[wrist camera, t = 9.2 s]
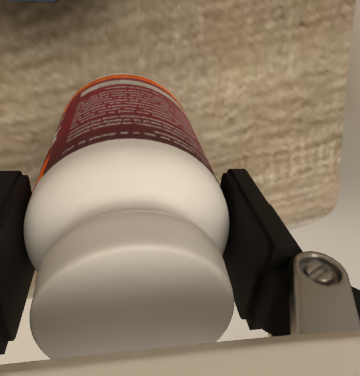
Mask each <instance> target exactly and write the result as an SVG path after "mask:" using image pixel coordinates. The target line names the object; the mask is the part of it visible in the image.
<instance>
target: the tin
mask: <svg viewBox="0 0 360 376" xmlns="http://www.w3.org/2000/svg"><path fill="white" fill-rule="evenodd" d="M3 1H26V2H58V1H61V0H3Z"/></svg>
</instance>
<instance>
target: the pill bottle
mask: <svg viewBox="0 0 360 376" xmlns="http://www.w3.org/2000/svg"><path fill="white" fill-rule="evenodd" d="M229 228H230V223H229V213H228V208H227V204H226V200H225V198H224V195H223V192H222V190H221V187H220V185H219V183H218V180H217V179H216V177H215V175H214V173H213V170H212V168H211V166H210V164H209V162H208V160H207V158H206V156H205V154H204V152H203V150H202V148H201V145H200V143H199V141H198V139H197V137H196V135H195V133H194V131H193V129H192V126H191V124H190V122H189V120H188V118H187V116H186V114H185V112H184V110H183V108H182V107H181V105H180V104H179V102H178V101H177V99H176V98H175V97H174V96H173V94H172V93H171V92H170V91H169V90H168V89H167V88H165V87H164V86H163V85H161V84H160V83H158V82H157V81H155V80H153V79H151V78H149V77H146V76H143V75H139V74H135V73H111V74H106V75H103V76H100V77H97V78H95V79H93V80H91V81H89V82H88V83H86V84H85V85H84V86H82V87H81V88H80V89H79V90H78V91H77V92H76V93H75V94H74V95H73V96H72V98H71V99H70V101H69V102H68V104H67V106H66V108H65V110H64V112H63V114H62V117H61V120H60V122H59V125H58V128H57V130H56V133H55V136H54V138H53V141H52V143H51V146H50V148H49V151H48V154H47V156H46V159H45V161H44V164H43V166H42V168H41V172H40V174H39V177H38V179H37V182H36V185H35V187H34V190H33V192H32V195H31V198H30V200H29V204H28V207H27V210H26V214H25V220H24V240H25V246H26V250H27V253H28V256H29V259H30V261H31V263H32V265H33V266H34V268H35V269H36V271H37V273H38V274H37V278H36V286H35V291H34V295H33V300H32V304H31V309H30V328H31V332H32V335H33V338H34V340H35V342H36V343H37V345H38V346H39V348H40V349H41V350H42V351H43V353H44V354H46V355H47V356H48V357H49V358H51V359H59V358H68V357H77V356H87V355H96V354H106V353H116V352H125V351H135V350H145V349H154V348H164V347H174V346H184V345H193V344H203V343H214V342H216V341H217V340H218V339H219V338H220V337H221V336H222V335H223V333H224V332H225V330H226V329H227V327H228V325H229V323H230V321H231V318H232V315H233V310H234V295H233V289H232V286H231V283H230V279H229V276H228V273H227V270H226V266H225V263H224V260H223V257H222V256H223V253H224V250H225V248H226V245H227V241H228V236H229Z"/></svg>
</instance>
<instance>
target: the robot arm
mask: <svg viewBox="0 0 360 376" xmlns="http://www.w3.org/2000/svg"><path fill="white" fill-rule="evenodd" d="M220 187H221V190H222V192H223V195H224V198H225V200H226V204H227V208H228V213H229V223H230V228H229V236H228V241H227V245H226V248H225V250H224V253H223V256H222V257H223V260H224V263H225V266H226V270H227V273H228V276H229V279H230V283H231V286H232V289H233V295H234V301H235V304H236V307H237V310H238V312H239V315H240V317H241V319H246V321H247V323H248V326H249V329H250V330H255V329H263V330H264V331H266V332H268V337H265V338H255V339H244V340H234V341H224V342H214V343H203V344H193V345H184V346H174V347H164V348H154V349H145V350H135V351H125V352H116V353H106V354H96V355H87V356H77V357H68V358H59V359H50V360H41V361H31V362H22V363H13V364H4V365H0V376H360V290H358V289H356V288H353V287H352V286H351V285H350V281H349V277H348V275H347V272H346V270H345V269H344V267H343V266H342V265H341V264H340V263H339V262H337V261H336V260H335V259H333V258H331V257H329V256H327V255H325V254H322V253H319V252H313V251H307V252H302V250H301V249H300V247H299V246H298V244H297V243H296V241H295V240H294V238H293V237H292V235H291V234H290V233H289V231H288V229H287V228H286V226H285V225H284V223H283V222H282V220H281V219H280V217H279V216H278V214H277V213H276V212H275V210H274V209H273V207H272V206H271V205H269V204H268V202H267V201H266V199H265V198H264V196H263V195H262V193H261V192H260V190H259V189H258V187H257V186H256V184H255V183H254V181H253V180H252V178H251V177H250V175H249V174H248V172H247V171H246V170H245V169H229V170H228V172H227V173H223V175H222V179H221V185H220ZM31 195H32V192H31V186H30V181H29V177H28V176H27V175H22V172H21V171H0V354H5V350H6V347H7V344H8V341H13V340H14V339H15V337H16V334H17V331H18V327H19V323H20V320H21V317H22V313H23V310H24V306H25V303H26V299H27V296H28V292H29V288H30V285H31V281H32V278H33V274H34V271H35V268H34V266H33V265H32V263H31V261H30V259H29V256H28V253H27V250H26V246H25V240H24V220H25V214H26V210H27V207H28V204H29V200H30V198H31Z"/></svg>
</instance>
